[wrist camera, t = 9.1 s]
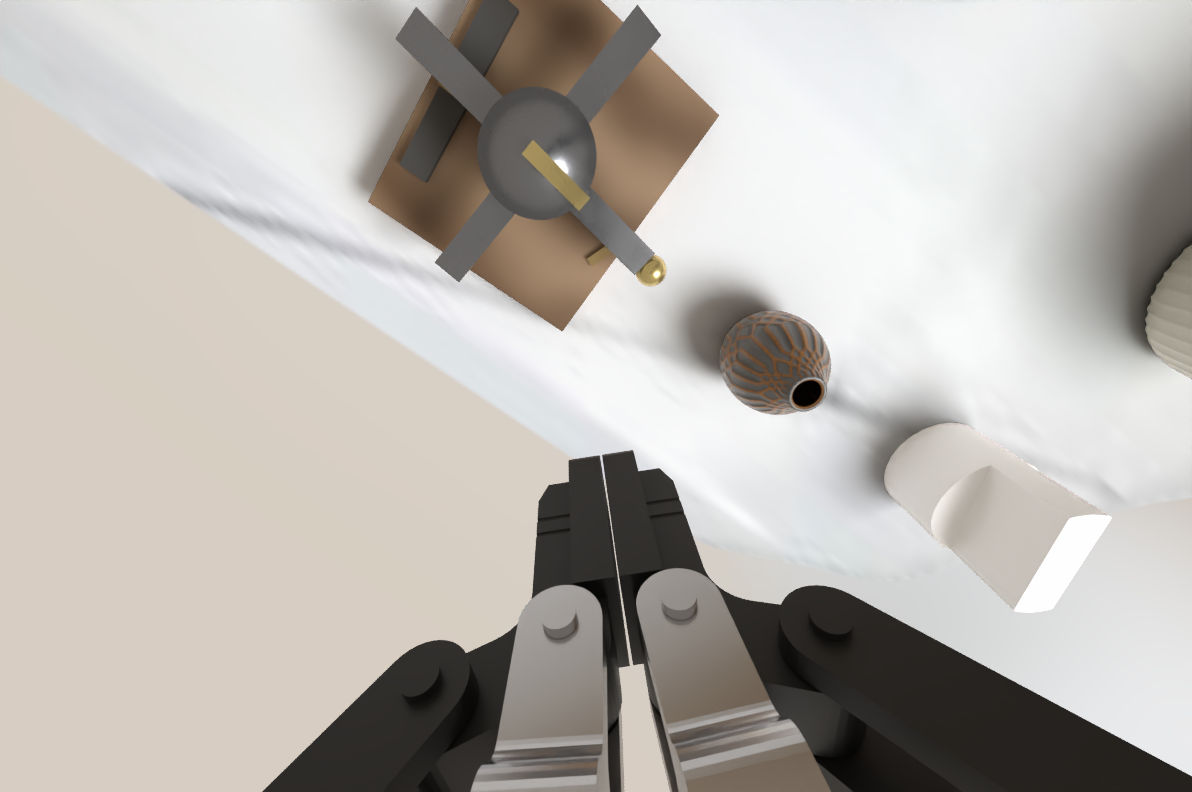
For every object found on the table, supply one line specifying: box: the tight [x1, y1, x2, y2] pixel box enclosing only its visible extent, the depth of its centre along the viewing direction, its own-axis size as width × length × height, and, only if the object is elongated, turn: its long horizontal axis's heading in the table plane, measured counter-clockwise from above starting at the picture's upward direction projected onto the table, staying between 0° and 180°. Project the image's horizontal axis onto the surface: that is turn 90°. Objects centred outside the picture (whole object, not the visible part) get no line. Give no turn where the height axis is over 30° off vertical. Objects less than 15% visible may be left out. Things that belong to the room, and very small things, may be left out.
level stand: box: [368, 0, 719, 331], centre depth 28 cm, size 16×14×3 cm
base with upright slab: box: [884, 422, 1112, 612], centre depth 37 cm, size 9×9×12 cm
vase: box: [720, 311, 831, 415], centre depth 32 cm, size 7×7×9 cm
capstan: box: [396, 5, 666, 286], centre depth 25 cm, size 17×16×6 cm
